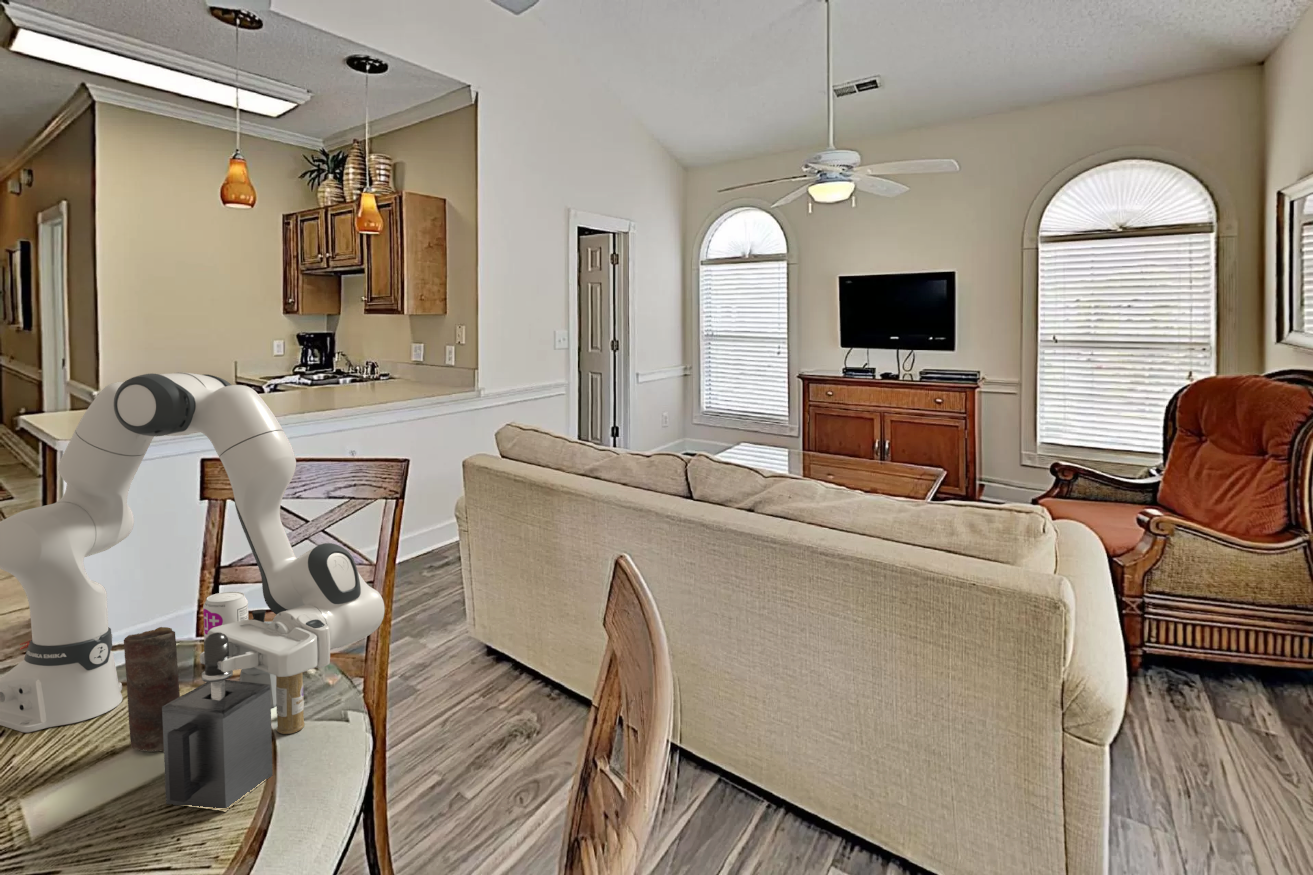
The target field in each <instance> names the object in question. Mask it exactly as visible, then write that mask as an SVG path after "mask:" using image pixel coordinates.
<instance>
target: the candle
mask: <svg viewBox="0 0 1313 875" xmlns="http://www.w3.org/2000/svg"><path fill="white" fill-rule="evenodd" d="M176 640H177V639H176V631H175V630H173V629H172V628H171V627H166V626H163V627H162V626H159V627H156V629H151V630H148V631H144V632H143V631H142V632H141V633H140V632H139V633H135V634H129V635H127V636H125V638H124V639H123V649H124V663H125V664H124V666H125V675H126V676H125V677H126V694H127V696H126V697H127V709H128V727H129V728H128V729H129V741H130V742H129V743H130V747H131V748H133V749H135V750H137V751H144V752H148V753H151V752H164V743H163V718H162V706H164V705H166V704H168V703H170V702H171V701H173V700H175V699H177V698H179V697H181V696H180V695H181V694H180V680H179V667H178V651H177V641H176Z"/></svg>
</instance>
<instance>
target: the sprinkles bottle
mask: <svg viewBox="0 0 1313 875" xmlns="http://www.w3.org/2000/svg"><path fill="white" fill-rule="evenodd" d="M303 676H304V674H303V672H302V673H299V674H296V675H292V676H287V677H278V676H276V705H277V706H276V716H277V726H276V731H277V733H279V734H282V735H289V734H294V733H297V732H299V731H302V729H303V728H304V727H305V725H306V724H305V721H304V717H305V716H304V714H305V713H304V709H305V704H304V683H303V682H304V681H303V679H304V678H303Z"/></svg>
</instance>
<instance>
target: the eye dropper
mask: <svg viewBox="0 0 1313 875" xmlns="http://www.w3.org/2000/svg"><path fill="white" fill-rule="evenodd" d="M203 652H204V660H205V665H204V671H202V672H201V680H202V681H203V682H205V683H206V682H211V700H219V701H220V700H221V699H223V698H225V680H229V679H230V678H231V677H233V676H234V672H233V671H234V670H232V671H229V672H226V673H224V672H222V671H219V670H218V669H217V667H218V665H217V661H218V660H219V659H221V658H224V657H227V656H229V640H228V637H227V636H226V635H225V634H223V633H220V632H216V633H212V634H210V635H209V636H208V637H207V638H206V639H205V642H204V641H203Z"/></svg>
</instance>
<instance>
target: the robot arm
mask: <svg viewBox="0 0 1313 875" xmlns="http://www.w3.org/2000/svg"><path fill="white" fill-rule="evenodd" d="M198 433H202V434H203V435H204V436H206V437H207V439H208V440H210V442H211V445H212V446H213V448H214V450H215V452H216V454H217V456H218V458H219V460H220V461H221V463H222V466H223V468H224V470H225V472H226V475H227V477H228V480H229V482H230V483H229V484H230V486H231V490H232V492H233V500H234V506H235V510H236V513H237V514H236V515H237V517H238V520H239V523H240V525H241V528H242V530H243V533H244V535H245V538H246V540H247V542H248V545H249V548H250V549H251V552H252V554H253V557H254V560H255V562H256V564H257V568H258V570H259V572H260V573H259V574H260V577H261V586H262V587H261V588H262V594H263V599H264V602H265V604H266V606H267V607H268V608H269V610H270V611H271V612H272V613H273V614H275V616H274V617H273V619H272V620H271V622H272V623H271V624H267V623H264V622H265V621H264V622H261V621H258V620H252V619H248V620H243V621H238V622H234V623H229V624H225V625H221V626H217V627H214V628H212V629H210V630H209V631H208V634H207V637H208V636H209V635H210V634H212V633H216V632H220V633H223V634H225V635H226V636H227V637H228V640H229V656H227V657H224V658H221V659H219V660H218V661H217V665H218V667H217V669H218V670H219V671H222V672H224V673H226V672H229V671H232V670H233V671H236V670H242V669H247V668H252V667H254V668H257V669H260V670H262V671H265V672H268V673H270V674H273V675H276V676H278V677H287V676H292V675H296V674H299V673H302V674H303V673H305V672H307V671H310V670H313V669H315V668H317V669H320V668H323V667H326V666H328V665H330V661H331V649H339V648H340V649H341V648H343V647H346V646H348V645H352V644H353V643H356V642H358V641H360V640H363V639H364V638H366V637H368V636H370V635H371V634H373V633H374V632H376V630H378V629H379V627H380V626H381V625H382V622H383V620H384V617H385V601H384V599H383V597H382V595H381V593H380V592H379V591H378V590H377V589H375V588H373V587H371V586H370V585H369V584H368V583H367V582H366V581H365V580H364V578H363V577H362V576H361V574H360V572H359V571H358V568H357V564H356V561H355V559H354V556H352V554H351V553H350V552H349V550H347V549H345V548H344V547H343V546H341V545H339V544H336V543H331V542H330V543H329V542H325V543H321V544H319V545H316V546H315V547H313V548H311V549H309V550H308V551H306V552H305V553H302V554H301V555H300V556H299V557H297V556H296V555H295V552H294V550H293V547H292V545H291V542H290V540H289V537H288V535H287V532H286V531H285V527H284V525H283V523H282V519H281V504H282V501H283V498H284V495H285V493H286V491H287V488H288V487H289V485H290V483H291V481H292V480H293V477H294V475H295V472H296V468H297V467H296V466H297V460H296V455H295V453H294V452H295V451H294V449H293V446H292V444H291V442H290V440H289V438H288V436H287V435H286V432H285V431H284V429H283V427H282V426H281V423H280V422H279V421H278V419H277V417H276V416H275V414H274V413H273V411H272V410H271V409H270V407H269V406H268V405H267V403H266V402H265V401H264V399H263V398H262V397H261V396H260V395H259V394H258V392H257V391H256V390H255V389H253V388H252V387H250V386H247V385H244V384H243V385H242V384H231V382H228V381H227V379H226V380H225V379H223V378H221V377H218V376H216V375H211V374H204V373H203V374H199V373H192V372H183V371H182V372H173V373H172V372H171V373H170V372H169V373H144V374H139V375H136V376H133V377H130V378H129V379H128V378H127V379H126V380H125V381H118V382H112V383H110V384H107V385H106V386H105V387H104V388H102V389H101V391H100V392H99V393H98V394H97V395H96V397H95V398H94V399H93V401H92V402H91V403H90V404H89V406H88V408H87V409H86V411H85V412H84V413H83V415H82V416H81V419H80V421H79V422H78V424H77V426H76V428H75V430H74V431H73V434H72V435H71V438H70V439H69V442H68V444H67V445H66V448H65V450H64V452H63V454H62V456H61V458H60V460H59V462H58V465H57V472H58V475H60V477H61V479H62V480H63V481H64V482H65V483H66V487H65V490H64V494H63V496H62V497H61V498H60V499H58V501H56V502H54V503H50V504H47V505H42V506H37V507H33V508H29V509H24V510H21V511H19V512H17V513H14V514H12V515H10V516H9V517H6V518H4V519H2V520H0V569H1V570H2V571H4V572H7V573H8V574H11V575H12V576H13V577H14V578H15V579H16V580H17V581H18V582H19V584H20V585H21V587H22V589H23V590H24V592H25V595H26V597H27V602H28V606H29V616H30V626H31V639H30V640H27V641H24V642H21V643H19V646H22V647H20V648H19V650H25V649H26V652H25V656H24V659H23V660H22V661H20V662H19V663H18V664H17V665H15V666H14V667H12V668H11V669H10V670H9V671H8V672H6V673H5V674H3V675H2V676H0V726H3V727H6V728H9V729H12V730H15V731H17V732H22V733H31V732H36V731H40V730H43V729H47V728H51V727H58V726H65V725H70V724H75V723H79V722H84V721H86V720H90V719H92V718H95V717H96V718H97V717H98V716H101V715H103V714H105V713H108V712H109V711H111V710H113V709H115V708H116V707H118V706H119V705H120V704H121V702H122V701H123V699H124V698H123V695H122V693H121V691H122V690H123V685H122V682H121V681H119V680H118V678H119V677H118V673H117V667H116V661H115V655H114V652H113V651H112V648H113V634H112V628H111V627H110V626H109V614H108V613H109V611H108V593H107V591H106V589H105V587H104V586H103V585H102V584H101V583H99V582H96V581H94V580H91V578H90V577H89V574H88V572H87V571H86V569H85V564H84V560H85V558H88V557H90V556H93V555H96V554H99V553H102V552H106V551H108V550H109V549H111V548H113V547H115V546H116V545H118V544H119V543H121V542H122V541H124V540H126V538H128V537H129V535H130V534H131V532H132V531H133V528H134V524H135V519H134V518H135V517H134V513H133V511H132V509H131V507H130V506H129V504H128V495H129V491H130V487H131V485H132V482H133V480H134V479H135V478H134V477H135V476H136V474H137V472H138V469H139V467H140V466H141V464H142V461H143V460H144V457H145V455H146V453H147V451H148V449H149V447H150V445H151V443H152V441H153V439H154V437H165V436H169V437H170V436H171V437H176V436H179V437H181V436H188V435H193V434H198ZM23 645H24V646H23ZM199 663H200V664H202V665H204V666H205V660H204V651H203V652H201V653H200V654H199Z"/></svg>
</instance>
